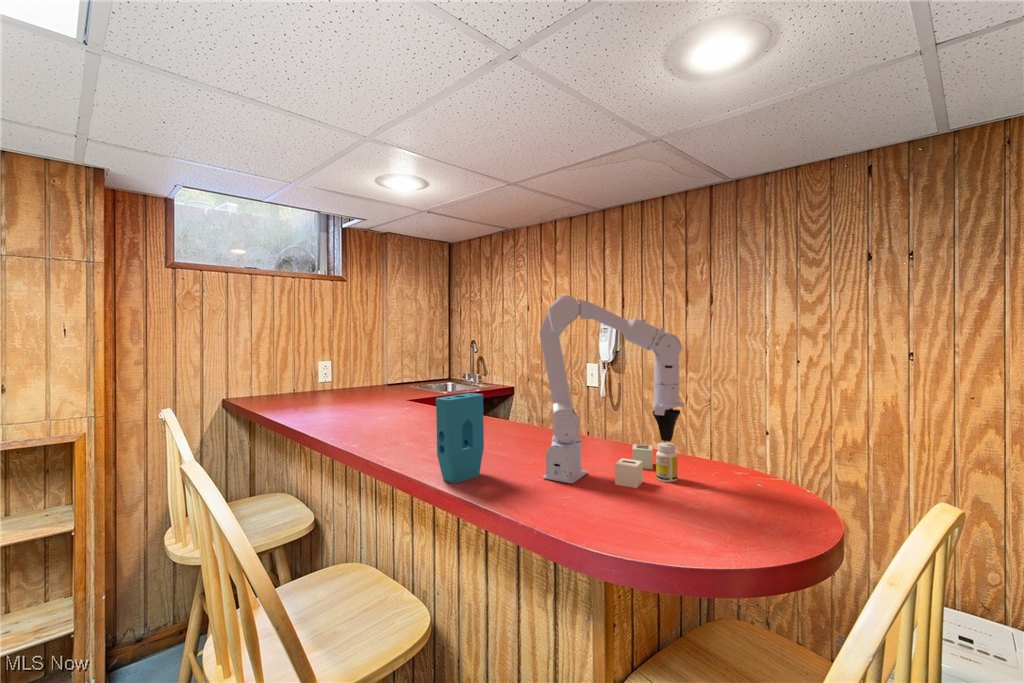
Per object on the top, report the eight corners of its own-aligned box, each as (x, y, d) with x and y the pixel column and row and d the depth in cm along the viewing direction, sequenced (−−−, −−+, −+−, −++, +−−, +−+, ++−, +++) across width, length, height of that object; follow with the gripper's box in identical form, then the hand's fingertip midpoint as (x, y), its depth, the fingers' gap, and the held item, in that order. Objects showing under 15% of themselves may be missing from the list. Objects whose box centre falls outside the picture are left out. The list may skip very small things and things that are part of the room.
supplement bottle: (672, 475, 112) (672, 441, 112) (680, 482, 108) (680, 446, 107) (653, 476, 112) (653, 442, 112) (660, 482, 108) (660, 447, 107)
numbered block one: (636, 488, 104) (636, 465, 104) (615, 484, 107) (615, 462, 107) (642, 482, 109) (642, 460, 108) (621, 478, 111) (621, 457, 111)
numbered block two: (652, 469, 118) (652, 449, 118) (632, 468, 119) (632, 448, 119) (652, 464, 123) (652, 444, 123) (633, 462, 124) (633, 443, 124)
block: (449, 485, 107) (448, 400, 107) (435, 481, 111) (434, 398, 110) (485, 473, 116) (484, 394, 116) (472, 469, 119) (471, 392, 119)
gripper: (677, 388, 101) (677, 449, 101) (690, 381, 113) (690, 436, 114) (645, 386, 105) (645, 445, 105) (660, 379, 117) (660, 432, 118)
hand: (666, 440), depth 110 cm, fingers closed
